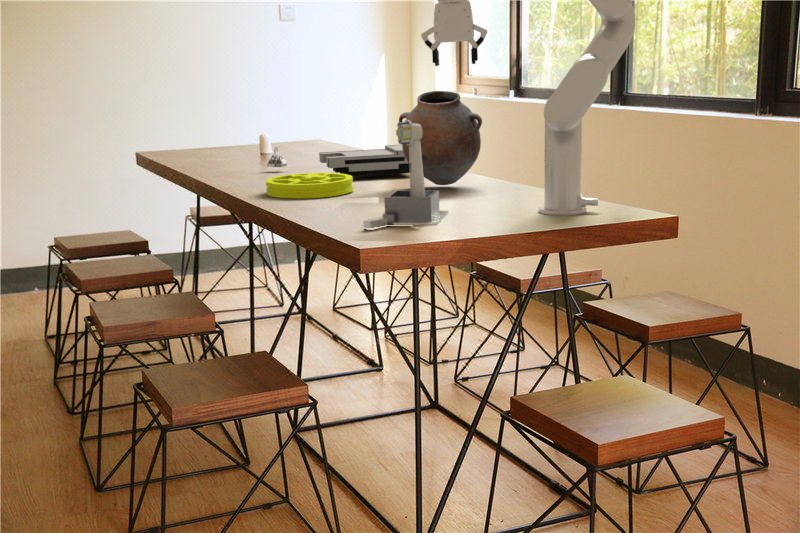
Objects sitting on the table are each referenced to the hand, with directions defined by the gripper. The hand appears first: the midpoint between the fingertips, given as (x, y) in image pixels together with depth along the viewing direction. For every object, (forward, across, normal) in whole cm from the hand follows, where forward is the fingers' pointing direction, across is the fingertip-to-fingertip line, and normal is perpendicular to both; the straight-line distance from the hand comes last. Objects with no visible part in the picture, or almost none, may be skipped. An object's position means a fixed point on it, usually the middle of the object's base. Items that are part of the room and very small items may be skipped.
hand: (455, 64), depth 248 cm
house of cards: (+38, -83, +107) cm, 140 cm away
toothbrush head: (+38, -11, -12) cm, 41 cm away
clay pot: (+39, -12, +50) cm, 65 cm away
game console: (+39, -44, +86) cm, 104 cm away
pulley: (+38, -54, +41) cm, 77 cm away
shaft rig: (+39, -11, -12) cm, 42 cm away
